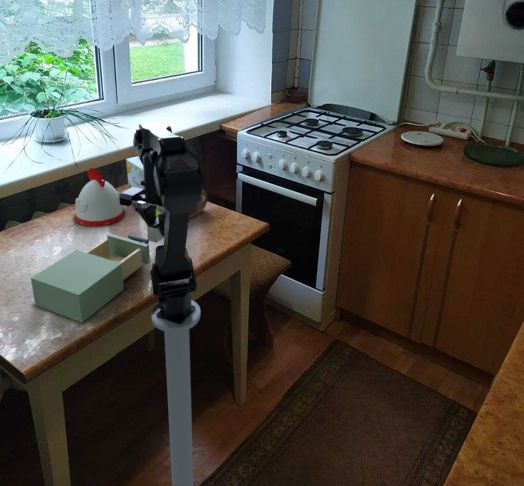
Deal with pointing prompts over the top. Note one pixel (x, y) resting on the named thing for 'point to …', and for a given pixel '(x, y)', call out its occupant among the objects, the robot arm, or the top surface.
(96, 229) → the top surface
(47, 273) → the cabinet
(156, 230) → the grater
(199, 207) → the tin
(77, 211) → the kitchen timer
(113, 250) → the drawer
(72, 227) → the top surface
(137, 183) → the snack box
